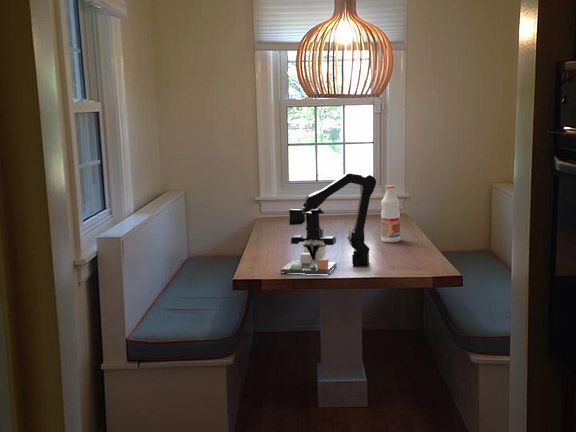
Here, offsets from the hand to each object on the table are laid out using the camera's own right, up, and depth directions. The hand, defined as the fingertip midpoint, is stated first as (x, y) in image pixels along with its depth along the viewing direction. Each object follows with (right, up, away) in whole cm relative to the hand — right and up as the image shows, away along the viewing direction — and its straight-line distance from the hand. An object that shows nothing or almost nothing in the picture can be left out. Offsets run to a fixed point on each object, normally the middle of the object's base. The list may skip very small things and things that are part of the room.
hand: (313, 259), depth 294 cm
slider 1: (-3, -1, +1) cm, 4 cm away
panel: (-2, -4, -3) cm, 5 cm away
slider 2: (+3, -3, -10) cm, 11 cm away
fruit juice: (+41, +6, +51) cm, 66 cm away
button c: (-8, -5, -6) cm, 11 cm away
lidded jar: (+1, -1, +16) cm, 16 cm away
